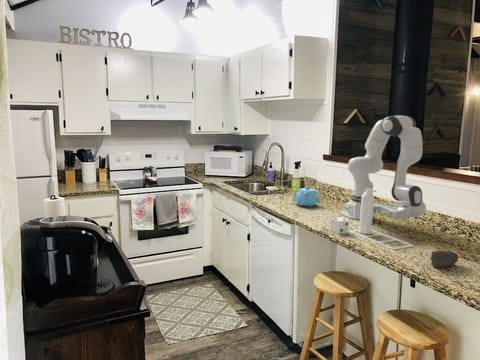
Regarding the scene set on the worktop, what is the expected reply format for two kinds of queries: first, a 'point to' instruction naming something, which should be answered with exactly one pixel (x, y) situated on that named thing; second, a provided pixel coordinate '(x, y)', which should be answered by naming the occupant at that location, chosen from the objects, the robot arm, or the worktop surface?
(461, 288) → the worktop surface
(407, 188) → the robot arm
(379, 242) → the game track
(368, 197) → the white bottle
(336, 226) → the die
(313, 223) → the worktop surface
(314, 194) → the decorative pot
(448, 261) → the perforated stone tool
